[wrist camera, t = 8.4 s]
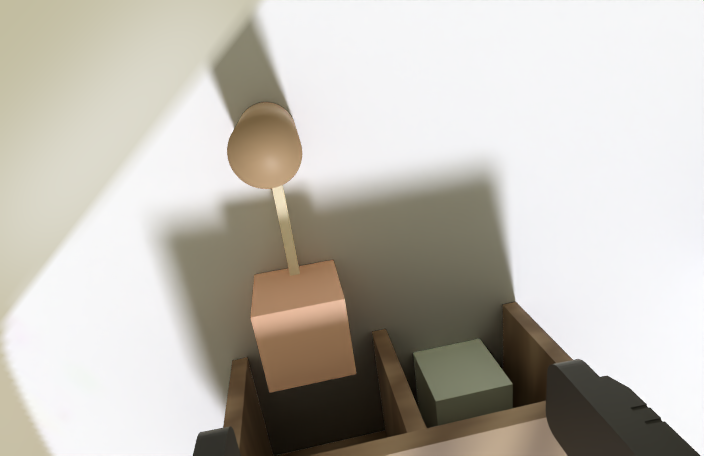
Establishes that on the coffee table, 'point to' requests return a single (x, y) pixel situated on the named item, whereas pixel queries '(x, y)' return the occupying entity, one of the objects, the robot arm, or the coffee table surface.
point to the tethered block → (289, 266)
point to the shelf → (404, 416)
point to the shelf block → (460, 383)
